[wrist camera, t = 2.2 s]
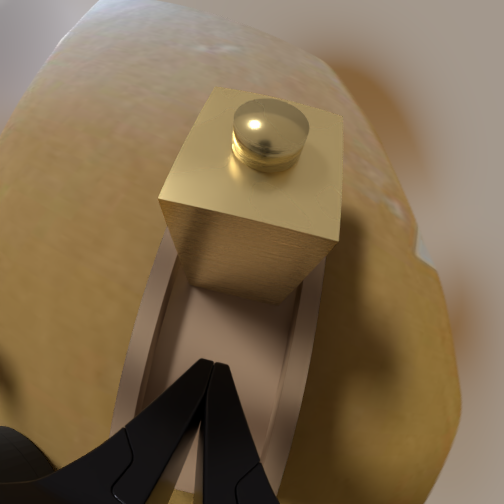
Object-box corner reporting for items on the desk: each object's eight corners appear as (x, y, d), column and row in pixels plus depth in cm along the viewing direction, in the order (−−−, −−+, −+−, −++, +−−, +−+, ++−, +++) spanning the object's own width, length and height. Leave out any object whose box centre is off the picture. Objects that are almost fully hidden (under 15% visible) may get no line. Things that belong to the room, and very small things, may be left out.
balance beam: (263, 479, 14) (280, 520, 8) (127, 446, 13) (92, 474, 8) (318, 187, 22) (343, 139, 17) (210, 161, 22) (209, 107, 17)
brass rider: (277, 305, 14) (355, 222, 6) (189, 284, 14) (150, 174, 6) (293, 221, 16) (352, 95, 8) (215, 202, 16) (215, 63, 8)
